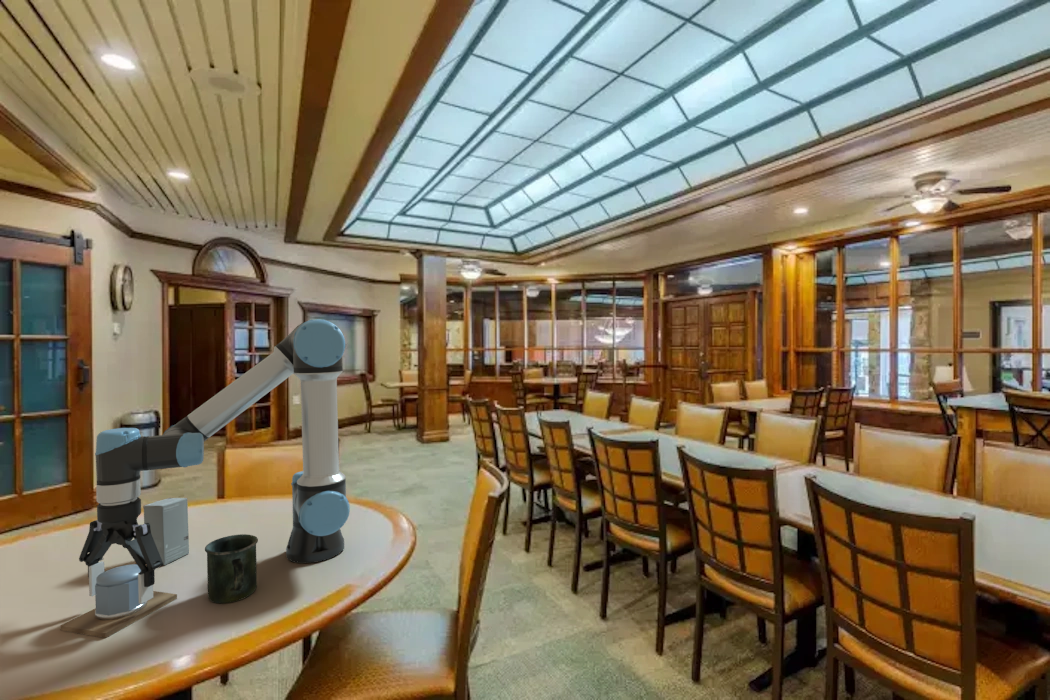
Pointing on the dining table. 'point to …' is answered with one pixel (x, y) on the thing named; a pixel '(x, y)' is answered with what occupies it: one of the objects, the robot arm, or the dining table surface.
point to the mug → (231, 568)
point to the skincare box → (169, 527)
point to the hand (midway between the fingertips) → (121, 597)
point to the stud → (120, 615)
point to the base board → (108, 627)
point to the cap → (117, 590)
